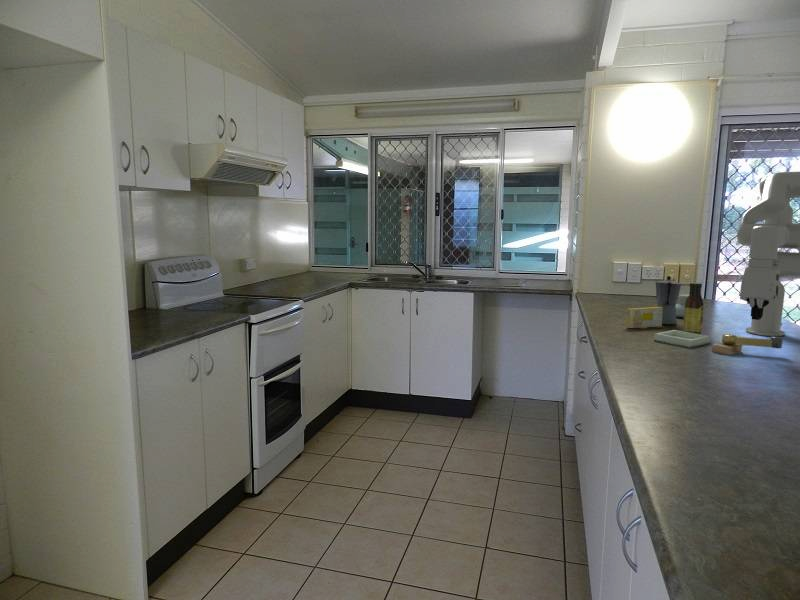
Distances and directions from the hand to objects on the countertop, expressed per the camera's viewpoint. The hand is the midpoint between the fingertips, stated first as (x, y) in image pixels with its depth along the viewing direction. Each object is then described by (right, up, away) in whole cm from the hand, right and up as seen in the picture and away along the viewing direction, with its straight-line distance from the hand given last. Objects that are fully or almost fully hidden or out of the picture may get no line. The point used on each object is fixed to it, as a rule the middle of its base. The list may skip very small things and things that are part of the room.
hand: (756, 318), depth 179 cm
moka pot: (-6, -4, +49) cm, 49 cm away
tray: (-17, -9, +14) cm, 24 cm away
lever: (-3, -8, -2) cm, 9 cm away
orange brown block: (-10, -11, 0) cm, 14 cm away
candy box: (-19, -5, +40) cm, 44 cm away
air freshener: (+10, -2, +65) cm, 66 cm away
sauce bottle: (-7, -7, +26) cm, 28 cm away
